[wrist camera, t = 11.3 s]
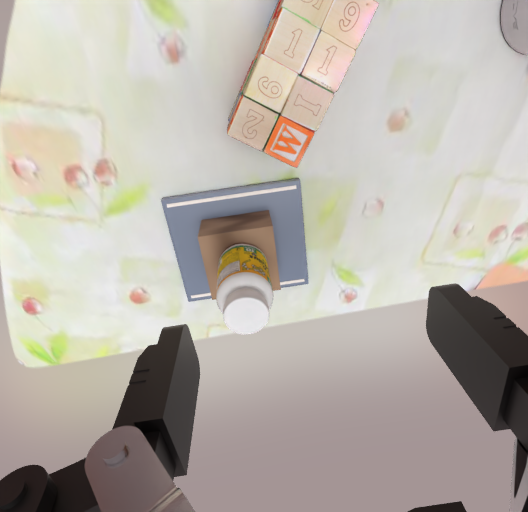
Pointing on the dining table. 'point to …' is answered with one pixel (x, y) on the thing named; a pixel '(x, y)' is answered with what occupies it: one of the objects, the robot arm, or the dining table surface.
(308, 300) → the dining table surface
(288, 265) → the blueprint board
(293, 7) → the stack of blocks
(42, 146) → the dining table surface
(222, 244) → the walnut plinth
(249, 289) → the supplement bottle
